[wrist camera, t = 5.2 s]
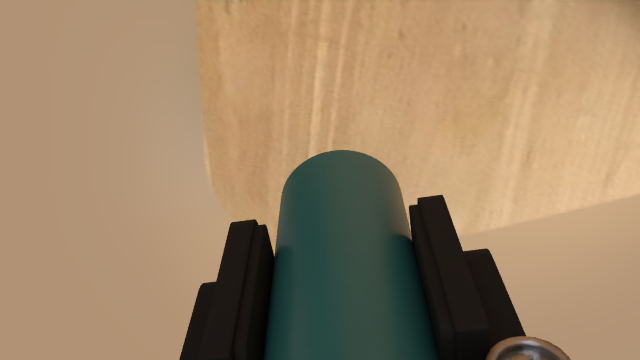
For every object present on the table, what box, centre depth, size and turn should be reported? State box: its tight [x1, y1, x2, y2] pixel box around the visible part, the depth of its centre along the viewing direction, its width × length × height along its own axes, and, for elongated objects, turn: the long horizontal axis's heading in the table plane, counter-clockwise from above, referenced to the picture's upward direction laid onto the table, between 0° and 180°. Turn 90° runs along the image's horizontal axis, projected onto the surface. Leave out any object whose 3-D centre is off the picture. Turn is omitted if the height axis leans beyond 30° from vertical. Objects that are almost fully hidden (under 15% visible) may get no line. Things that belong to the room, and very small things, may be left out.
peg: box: [263, 150, 440, 360], centre depth 11 cm, size 3×3×8 cm
